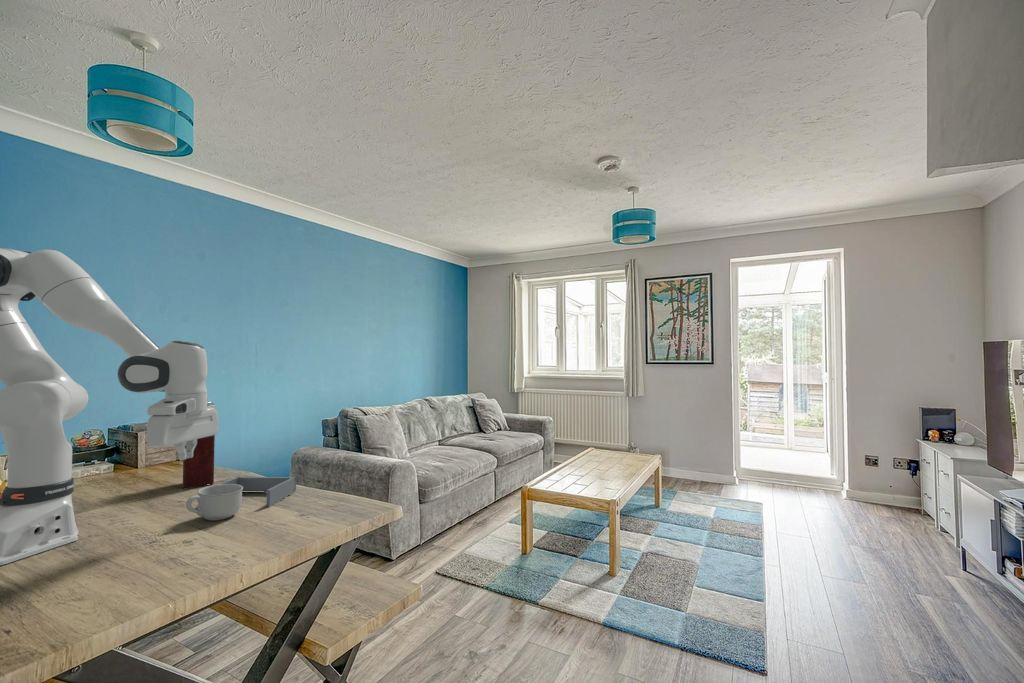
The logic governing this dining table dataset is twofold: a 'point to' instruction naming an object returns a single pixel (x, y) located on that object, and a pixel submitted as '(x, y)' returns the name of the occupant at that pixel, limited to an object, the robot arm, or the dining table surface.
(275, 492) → the box
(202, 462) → the dark red piece
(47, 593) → the dining table surface
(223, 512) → the teacup
